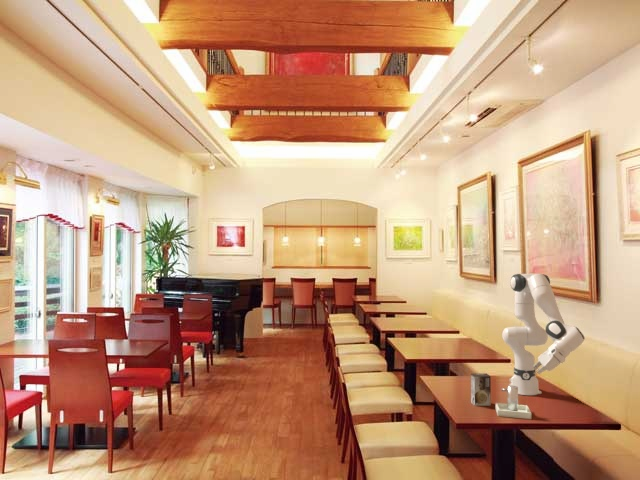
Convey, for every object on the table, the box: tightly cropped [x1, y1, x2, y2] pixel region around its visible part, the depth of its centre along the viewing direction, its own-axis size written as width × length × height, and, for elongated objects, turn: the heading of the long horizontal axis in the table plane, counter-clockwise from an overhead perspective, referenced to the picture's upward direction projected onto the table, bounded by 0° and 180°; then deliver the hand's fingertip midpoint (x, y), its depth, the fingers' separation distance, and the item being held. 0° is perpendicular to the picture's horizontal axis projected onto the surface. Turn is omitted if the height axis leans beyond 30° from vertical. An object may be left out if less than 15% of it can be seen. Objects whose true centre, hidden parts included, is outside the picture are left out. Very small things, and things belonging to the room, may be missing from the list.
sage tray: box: [494, 402, 532, 420], centre depth 262 cm, size 13×16×3 cm
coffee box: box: [470, 372, 492, 407], centre depth 278 cm, size 9×6×16 cm
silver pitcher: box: [500, 384, 519, 411], centre depth 262 cm, size 5×8×13 cm, turn 76°
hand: (535, 370), depth 260 cm, fingers open, 8 cm apart
